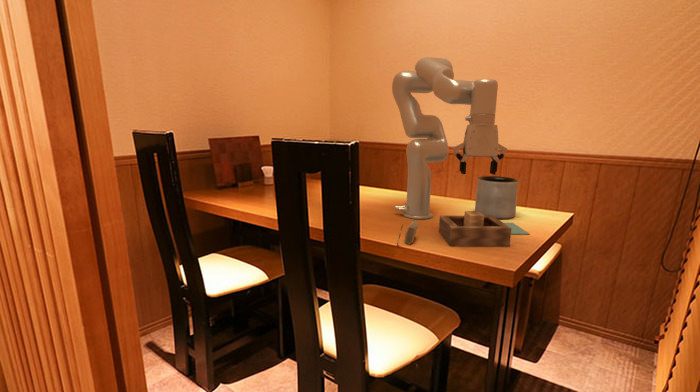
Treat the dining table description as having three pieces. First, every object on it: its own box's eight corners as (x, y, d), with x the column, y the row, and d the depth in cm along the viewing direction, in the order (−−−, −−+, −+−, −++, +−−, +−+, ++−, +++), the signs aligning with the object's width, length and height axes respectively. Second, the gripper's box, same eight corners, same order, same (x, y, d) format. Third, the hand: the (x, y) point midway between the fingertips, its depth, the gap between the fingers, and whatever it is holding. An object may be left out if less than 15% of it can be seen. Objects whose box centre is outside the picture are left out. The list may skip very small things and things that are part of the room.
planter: (516, 221, 146) (520, 183, 143) (473, 217, 152) (476, 180, 149) (513, 212, 161) (517, 177, 158) (475, 209, 167) (478, 174, 163)
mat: (495, 234, 130) (495, 233, 130) (481, 223, 144) (481, 222, 144) (529, 234, 130) (529, 233, 130) (512, 223, 144) (512, 222, 144)
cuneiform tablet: (396, 246, 117) (402, 235, 128) (410, 250, 116) (414, 238, 127) (401, 226, 115) (406, 216, 126) (415, 230, 114) (419, 219, 125)
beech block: (468, 241, 122) (470, 215, 120) (462, 236, 128) (464, 211, 126) (481, 242, 122) (484, 215, 120) (475, 236, 128) (477, 211, 126)
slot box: (450, 246, 118) (451, 227, 116) (438, 231, 132) (439, 215, 131) (509, 246, 118) (511, 228, 117) (491, 232, 132) (493, 215, 131)
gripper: (458, 120, 113) (454, 175, 117) (514, 120, 113) (509, 175, 117) (451, 120, 121) (448, 172, 124) (504, 120, 121) (499, 172, 124)
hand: (477, 173), depth 120 cm, fingers open, 9 cm apart
